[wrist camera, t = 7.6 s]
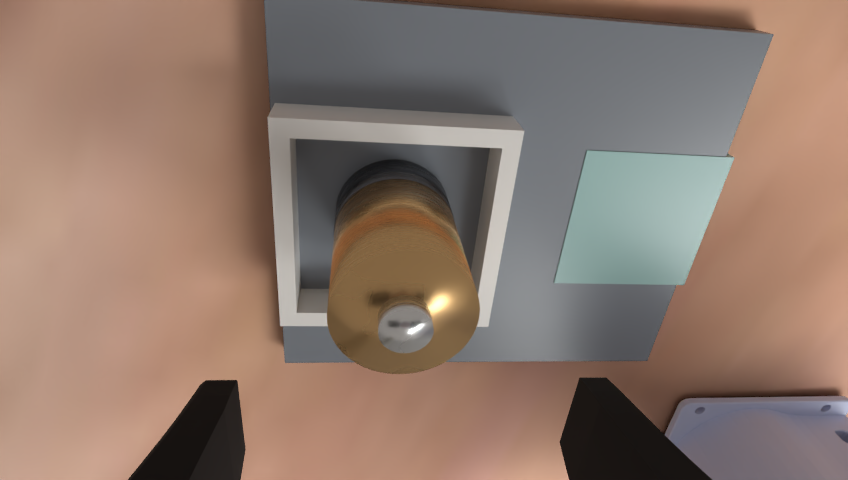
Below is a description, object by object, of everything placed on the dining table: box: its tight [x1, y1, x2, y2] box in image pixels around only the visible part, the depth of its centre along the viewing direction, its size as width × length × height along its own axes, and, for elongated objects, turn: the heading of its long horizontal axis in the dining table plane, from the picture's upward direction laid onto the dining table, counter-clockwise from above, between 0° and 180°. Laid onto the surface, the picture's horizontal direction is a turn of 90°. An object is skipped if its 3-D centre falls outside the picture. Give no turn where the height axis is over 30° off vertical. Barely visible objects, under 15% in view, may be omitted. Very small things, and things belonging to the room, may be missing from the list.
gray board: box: [264, 0, 774, 363], centre depth 19 cm, size 16×14×2 cm
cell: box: [327, 159, 480, 374], centre depth 16 cm, size 4×4×7 cm
